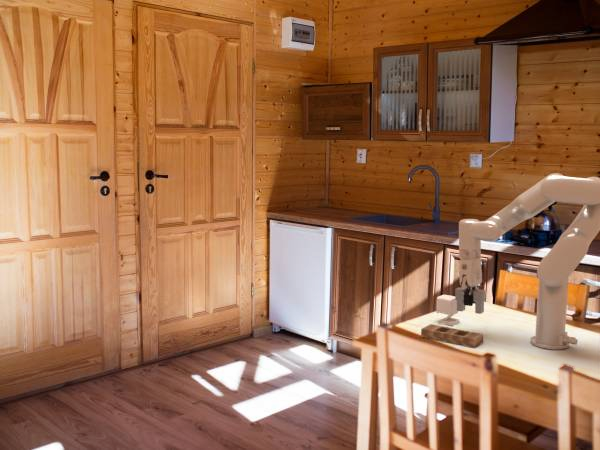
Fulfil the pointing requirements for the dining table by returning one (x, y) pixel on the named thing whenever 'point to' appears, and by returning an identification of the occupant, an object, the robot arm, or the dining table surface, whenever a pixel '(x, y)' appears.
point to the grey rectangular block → (477, 298)
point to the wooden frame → (452, 335)
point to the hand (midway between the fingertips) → (470, 303)
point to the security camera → (447, 309)
